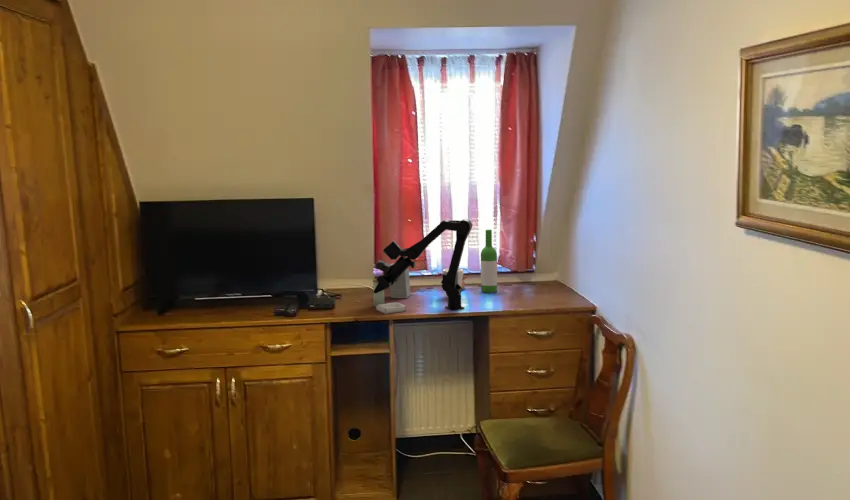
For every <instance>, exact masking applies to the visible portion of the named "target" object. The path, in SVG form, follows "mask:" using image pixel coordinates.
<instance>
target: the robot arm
mask: <svg viewBox="0 0 850 500" xmlns="http://www.w3.org/2000/svg"><path fill="white" fill-rule="evenodd" d="M472 229H473V222H472V221H471V220H470V219H468V218H464V219H463V218H462V220H449V219H443V220H441V221H440V222H439V224H438V225H436V227H434V228H433V229H431V231H429V233H428V234H427V235H426V236H424V237H423V238H422V239H421V240H420V241H418V242H416V243H415V244H413V245H411V246H410V247H406V248H405V247H404V248H401V246H399V244H398V243H397V241H395V240H393V241H391V243H389V244H388V245H387V246H386V247H385V248H384V249H383V250H382V252H383V253H384V254H385V255H386V256H387V257H388V258H389V259H390V260H394V261H395V262H394V263H391V264H392V265H391V264H390V263H388V262H386V261H383V260H381V259H380V260H378V261H377V262H376V264H375V269H377V270H379V271H381V272H383V274H380V275H379V276H378V277H377V278H376V279H377V281H378V285H377V286H376V288H375V290H374V291H373V292H374V293H378V292H380V291H382V290H384V291H385V290H387V289H388V288H389V289H390V286H391V285H393V284H394V282H397V281H398V280H399V276H400V275H402V274H403V272H404V271H405V270H406V269H407V268H408V267H409V268H410V267H411V268H412V269H414V268H415V267H416V261H415V260H416V259H418V258H419V257H421V256H422V254H423V253H424V252H425V250H426V249H427V248H428V246H429V245H431V244H432V243H433V242H434V241H435V240H436V239H437V238H439V236H441V235H442V234H443V233H444V232H445V231H447V230H448V231H453V232H455V234H456V236H455V237H456V240H455V244H454V248H453V252H452V255H451V259H450V263H449V267H448V268H449V270H448V272H445V273H444V274H443V273H442V280H441V282H440V284H441V288H442V290H443V291H444V292H445V295H446V294H447V296H448V298H447V306H444V308H445V309H447V310H450V311H459V310H464V309H465V307H464V306H462V291H463V289H462V287H461V286H460V285H459V284H458V268H459V269H460V264H461V259H462V257H463V252H464V248H465V244H466V241H467V239H468V237H469V235H470V233H471V231H472ZM460 293H461V294H460ZM447 296H446V297H447Z"/></svg>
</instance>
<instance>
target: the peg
mask: <svg viewBox="0 0 850 500" xmlns="http://www.w3.org/2000/svg"><path fill="white" fill-rule="evenodd" d="M377 285H378V281H377V278H374V279H372V287H373V288H372V289H373V291H374V290H375V288H376V286H377ZM372 294H373V295H372V296H373V307H374V308H376V305H379V304H386V303H385V290H382V291H380V292H378V293H374V292H373V293H372Z"/></svg>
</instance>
